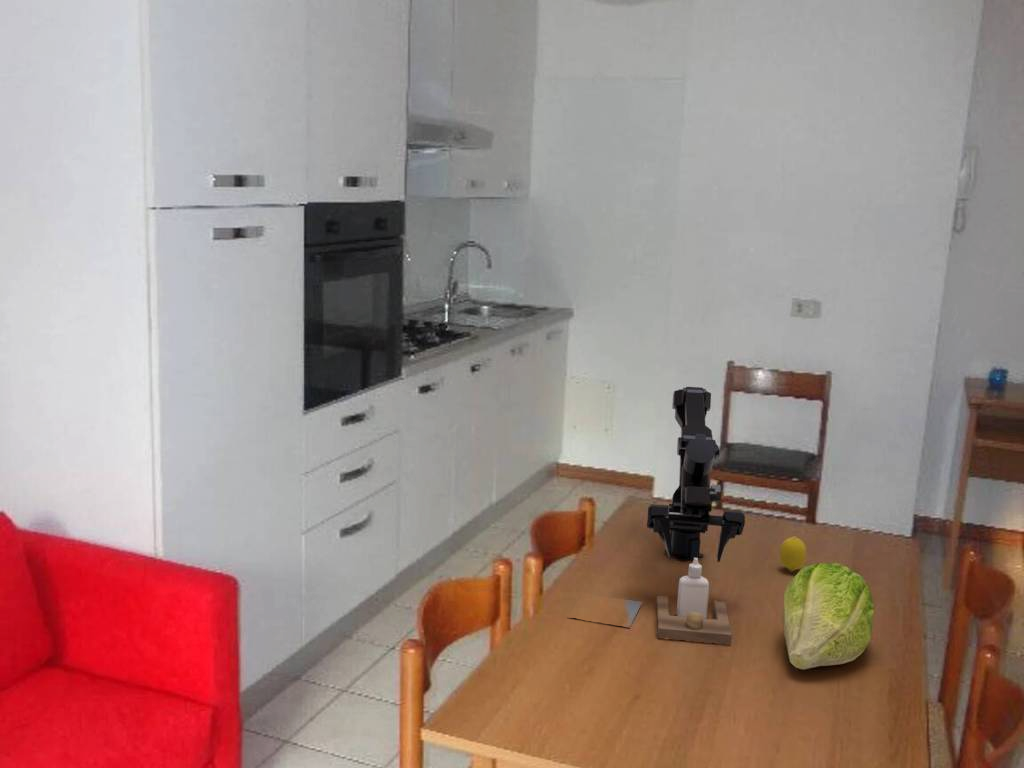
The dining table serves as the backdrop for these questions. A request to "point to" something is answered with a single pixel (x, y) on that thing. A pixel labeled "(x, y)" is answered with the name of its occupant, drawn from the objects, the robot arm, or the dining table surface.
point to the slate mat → (632, 609)
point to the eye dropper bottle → (693, 592)
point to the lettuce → (826, 616)
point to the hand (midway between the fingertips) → (694, 559)
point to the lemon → (793, 553)
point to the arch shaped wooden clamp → (694, 624)
